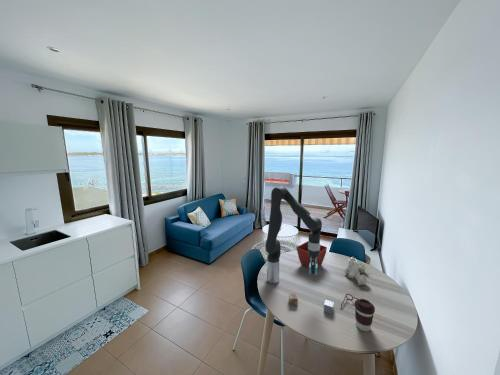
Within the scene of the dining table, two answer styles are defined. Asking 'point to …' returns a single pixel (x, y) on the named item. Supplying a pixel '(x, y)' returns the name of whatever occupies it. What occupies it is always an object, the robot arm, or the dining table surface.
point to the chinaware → (356, 271)
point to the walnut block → (293, 299)
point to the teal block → (315, 269)
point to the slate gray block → (328, 306)
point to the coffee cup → (364, 314)
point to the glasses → (347, 298)
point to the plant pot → (305, 257)
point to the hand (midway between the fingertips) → (313, 271)
